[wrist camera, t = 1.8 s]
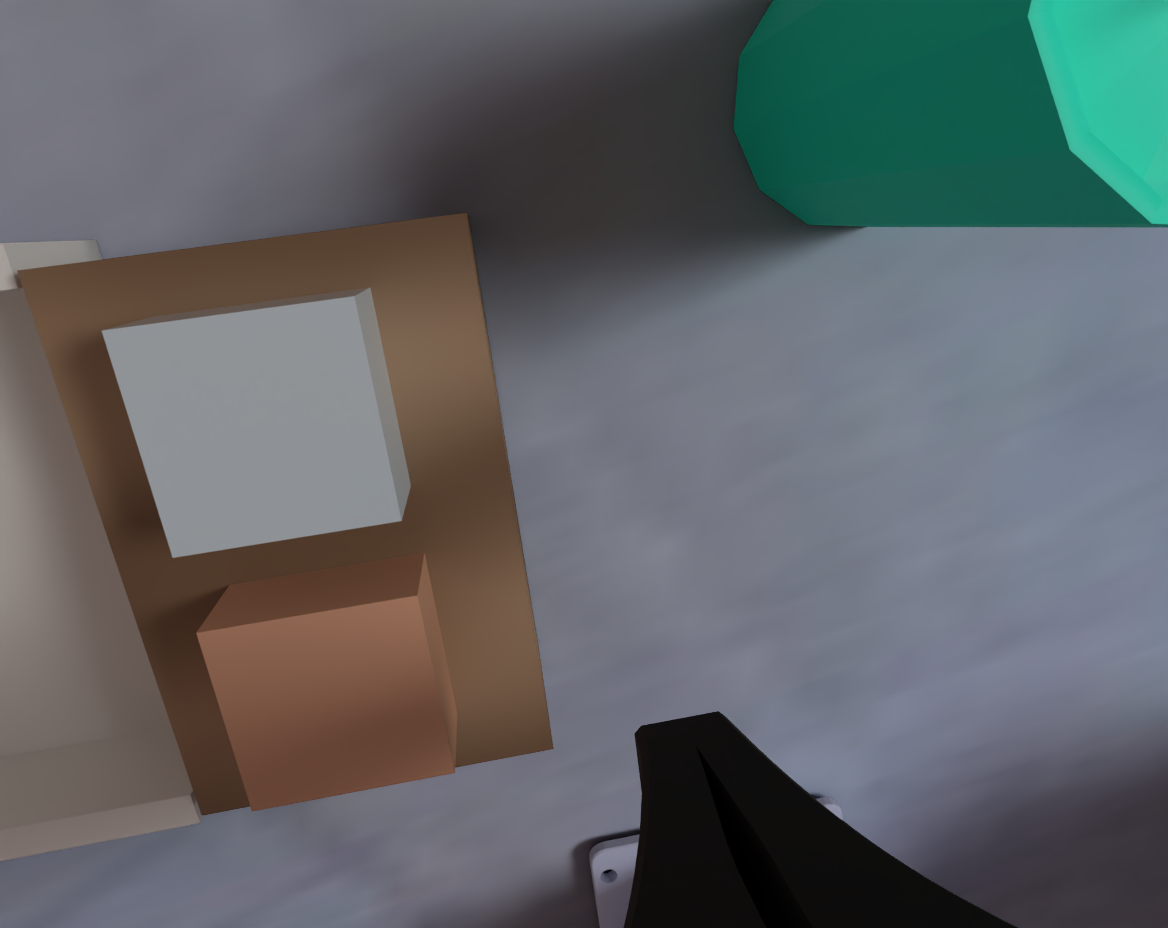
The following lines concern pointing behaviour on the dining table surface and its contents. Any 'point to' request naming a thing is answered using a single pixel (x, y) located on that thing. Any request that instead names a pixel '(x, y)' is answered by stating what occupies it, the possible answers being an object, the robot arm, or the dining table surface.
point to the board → (429, 525)
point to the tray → (67, 623)
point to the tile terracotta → (332, 680)
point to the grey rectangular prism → (263, 420)
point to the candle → (959, 112)
